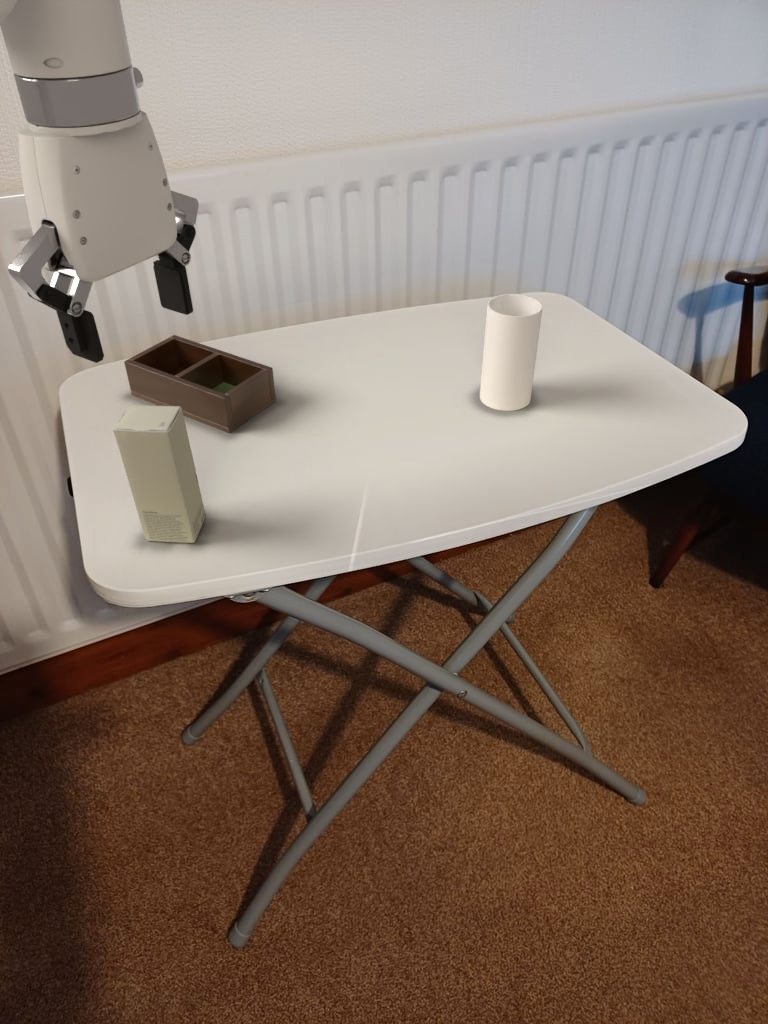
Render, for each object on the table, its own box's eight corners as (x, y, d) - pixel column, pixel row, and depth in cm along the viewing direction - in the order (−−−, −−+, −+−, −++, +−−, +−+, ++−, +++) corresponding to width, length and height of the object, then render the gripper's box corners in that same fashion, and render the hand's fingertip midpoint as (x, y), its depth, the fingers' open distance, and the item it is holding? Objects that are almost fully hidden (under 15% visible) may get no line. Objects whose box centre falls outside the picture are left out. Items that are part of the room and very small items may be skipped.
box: (207, 516, 78) (186, 404, 70) (194, 545, 74) (171, 431, 66) (155, 513, 78) (129, 401, 70) (140, 542, 75) (110, 428, 67)
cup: (493, 414, 93) (502, 320, 85) (471, 390, 97) (478, 298, 90) (539, 405, 94) (552, 311, 87) (516, 381, 99) (526, 290, 91)
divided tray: (229, 433, 90) (224, 398, 87) (131, 394, 96) (123, 361, 94) (276, 401, 95) (272, 367, 92) (180, 367, 102) (174, 334, 99)
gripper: (137, 71, 60) (177, 285, 71) (-70, 120, 49) (15, 365, 60) (210, 81, 57) (240, 304, 68) (6, 135, 46) (81, 391, 56)
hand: (135, 332), depth 64 cm, fingers open, 9 cm apart
